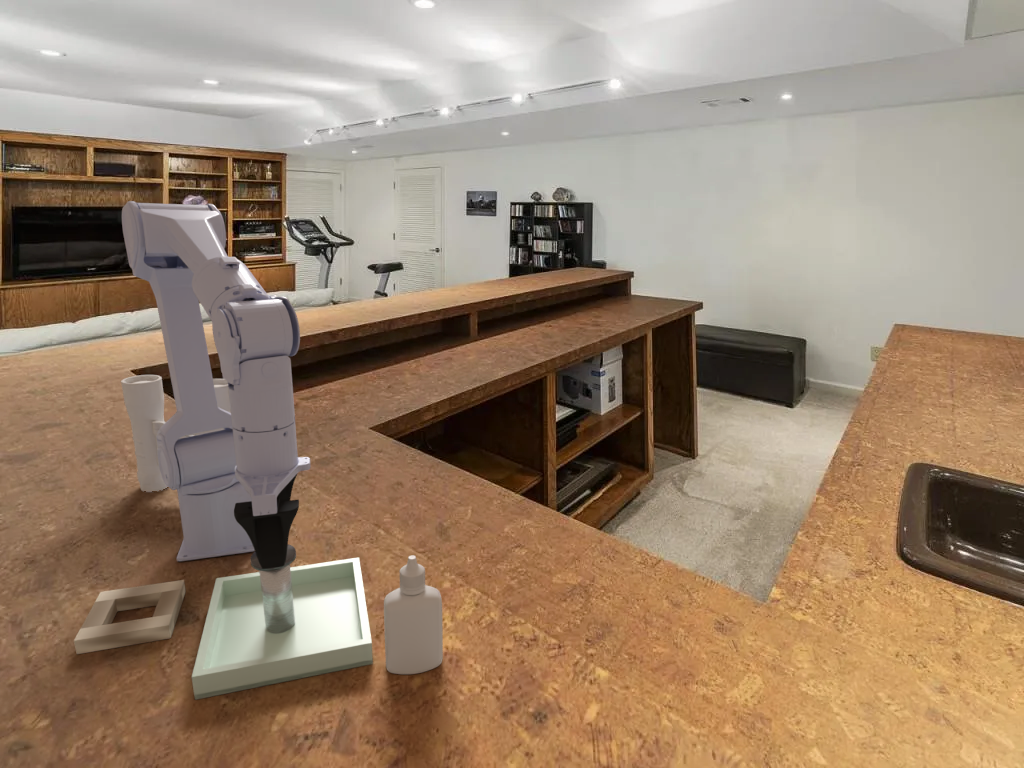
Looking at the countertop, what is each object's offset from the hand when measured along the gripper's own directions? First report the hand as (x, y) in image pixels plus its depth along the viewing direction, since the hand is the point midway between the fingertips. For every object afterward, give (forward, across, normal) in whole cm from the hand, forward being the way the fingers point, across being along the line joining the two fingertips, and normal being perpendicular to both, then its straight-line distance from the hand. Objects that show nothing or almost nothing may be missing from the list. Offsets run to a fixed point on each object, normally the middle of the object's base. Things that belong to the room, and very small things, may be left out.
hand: (275, 545), depth 62 cm
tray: (+10, 0, -1) cm, 10 cm away
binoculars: (+10, +40, +15) cm, 44 cm away
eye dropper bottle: (+10, -10, -13) cm, 19 cm away
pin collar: (+10, +6, +15) cm, 19 cm away
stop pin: (+9, 0, 0) cm, 9 cm away
